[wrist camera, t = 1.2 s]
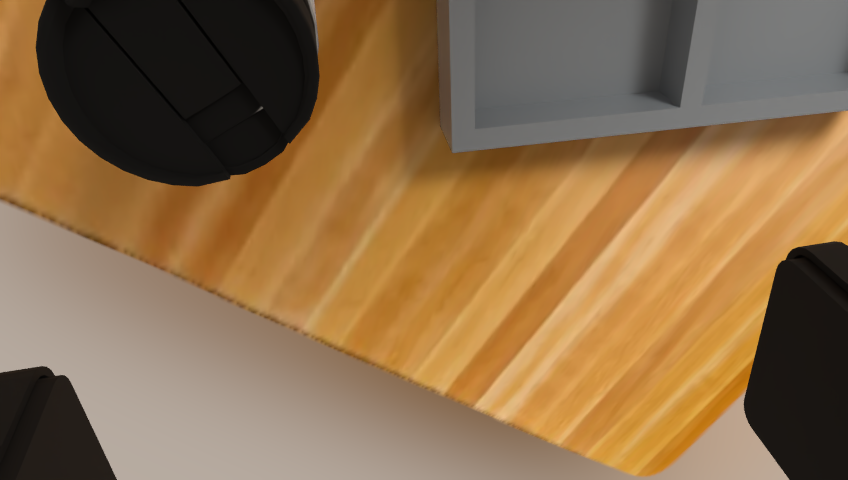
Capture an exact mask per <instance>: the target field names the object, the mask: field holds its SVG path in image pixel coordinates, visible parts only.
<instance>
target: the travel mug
mask: <svg viewBox="0 0 848 480" xmlns="http://www.w3.org/2000/svg"><path fill="white" fill-rule="evenodd" d="M318 47H319V43H318V32H317V22H316V12H315V3H314V0H46V2H45V5H44V8H43V10H42V13H41V16H40V18H39V22H38V31H37V41H36V52H37V60H38V68H39V74H40V77H41V79H42V82H43V85H44V88H45V91H46V93H47V96H48V99H49V100H50V102H51V103H52V105H53V107H54V108H55V110H56V112H57V113H58V115H59V117H60V118H61V120H62V121H63V123H64V124H65V125H66V126H67V127H68V128H69V129H70V130H71V132H72V133H73V134H74V135H75V136H76V137H77V138H78V139H79V141H81V142H82V143H83V144H84V145H86V146H87V147H88V148H89V149H91V150H92V151H93V152H94V153H96V154H97V155H98V156H99V157H101V158H102V159H104V160H106V161H108V162H109V163H111V164H113V165H115V166H116V167H118V168H120V169H122V170H123V171H126V172H129V173H131V174H134V175H137V176H139V177H142V178H145V179H147V180H151V181H156V182H161V183H166V184H170V185H181V186H202V185H206V184H211V183H215V182H219V181H224V180H228V179H230V176H231V175H240V174H246V173H248V172H250V171H252V170H255V169H257V168H259V167H261V166H263V165H265V164H267V163H268V162H269V161H271V160H272V159H273V158H275V157H276V156H277V155H279V154H280V153H282V152H283V151H284V149H285V147H286V146H287V144H288V142H289V143H291V142H292V140H293V139H294V138H295V137H296V135H297V134H298V133H299V132H300V131H301V129H302V128H303V127H304V126H305V125H306V123H307V122H308V121H309V120H310V117H311V114H312V111H313V108H314V105H315V102H316V100H317V93H318V84H319V65H318Z"/></svg>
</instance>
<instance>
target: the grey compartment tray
mask: <svg viewBox="0 0 848 480" xmlns="http://www.w3.org/2000/svg"><path fill="white" fill-rule="evenodd" d="M436 3H437V36H438V68H439V100H440V127H441V129H442V131H443V133H444V136H445V138H446V140H447V142H448V145H449V147H450V149H451V151H452V153H458V152H467V151H476V150H486V149H495V148H504V147H513V146H523V145H532V144H541V143H551V142H560V141H569V140H578V139H588V138H597V137H606V136H616V135H625V134H634V133H643V132H653V131H662V130H671V129H681V128H690V127H699V126H708V125H718V124H727V123H736V122H746V121H755V120H764V119H773V118H783V117H792V116H801V115H811V114H820V113H829V112H839V111H848V0H436Z"/></svg>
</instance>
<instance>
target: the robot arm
mask: <svg viewBox="0 0 848 480" xmlns="http://www.w3.org/2000/svg"><path fill="white" fill-rule="evenodd" d="M744 411H745V414H746V418H747V420H748V423H749V424H750V426H751V428H752V429H753V430H754V432H755V433H756V435H757V436H758V437H759V439H760V440H761V441H762V443H763V444H764V445H765V447H766V448H767V449H768V451H769V452H770V454H771V455H772V456H773V458H774V459H775V460H776V462H777V463H778V465H779V466H780V467H781V469H782V470H783V471H784V473H785V474H786V475H787V477H788V478H789V480H848V246H847V245H845V244H844V243H842V242H835V241H834V242H828V243H822V244H815V245H809V246H803V247H797V248H795V249H792V250H791V251H790V253H789V254H788V256H787V258H786V260H784V261H781V263H780V264H779V265H778V267H777V269H776V273H775V277H774V281H773V285H772V289H771V293H770V297H769V301H768V305H767V309H766V313H765V318H764V322H763V326H762V330H761V334H760V338H759V342H758V346H757V350H756V354H755V358H754V362H753V366H752V370H751V374H750V378H749V382H748V386H747V390H746V395H745V399H744ZM0 480H117V479H116V477H115V475H114V473H113V471H112V468H111V466H110V464H109V462H108V460H107V458H106V456H105V454H104V452H103V450H102V447H101V445H100V443H99V441H98V439H97V437H96V435H95V433H94V430H93V428H92V426H91V424H90V422H89V420H88V418H87V416H86V414H85V411H84V409H83V407H82V405H81V403H80V401H79V399H78V397H77V395H76V393H75V390H74V388H73V386H72V384H71V382H70V381H69V379H68V378H67V377H66V376H64V375H60V376H55V375H54V374H53V372H52V371H51V370H50V369H49V368H47V367H43V366H41V367H35V368H28V369H22V370H15V371H9V372H3V373H0Z"/></svg>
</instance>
